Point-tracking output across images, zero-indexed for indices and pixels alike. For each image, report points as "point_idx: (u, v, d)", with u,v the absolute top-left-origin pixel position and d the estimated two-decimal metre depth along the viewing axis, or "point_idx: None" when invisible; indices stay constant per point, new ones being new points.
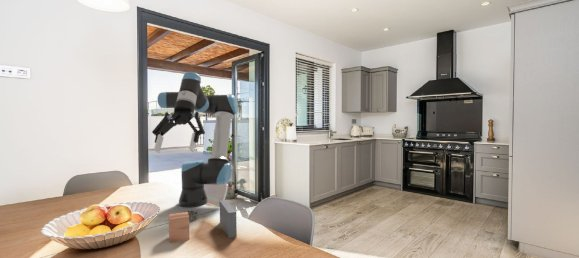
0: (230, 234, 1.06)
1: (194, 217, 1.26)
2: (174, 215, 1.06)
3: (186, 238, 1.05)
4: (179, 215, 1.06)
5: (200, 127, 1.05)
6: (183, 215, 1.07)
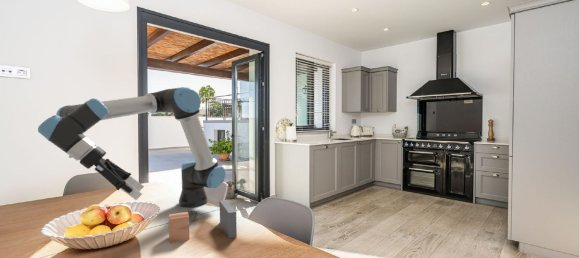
0: (230, 234, 1.06)
1: (194, 217, 1.26)
2: (174, 215, 1.06)
3: (186, 238, 1.05)
4: (179, 215, 1.06)
5: None
6: (183, 215, 1.07)
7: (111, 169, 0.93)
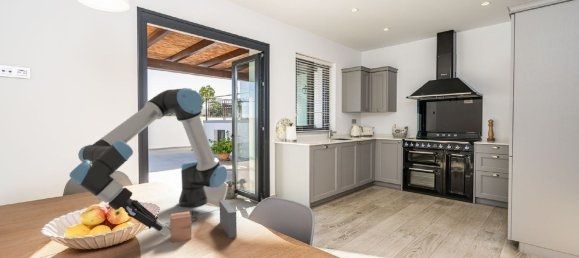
0: (230, 234, 1.06)
1: (195, 217, 1.26)
2: (176, 215, 1.07)
3: (188, 237, 1.05)
4: (181, 215, 1.06)
5: None
6: (185, 214, 1.07)
7: (140, 210, 0.98)
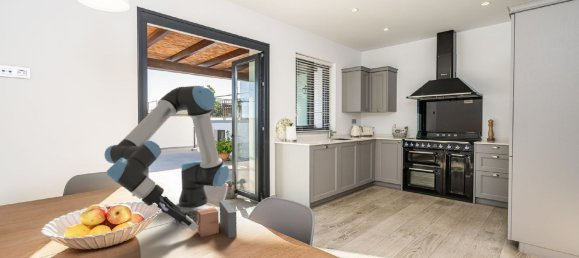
0: (230, 234, 1.06)
1: (195, 218, 1.26)
2: (203, 210, 1.11)
3: (216, 232, 1.10)
4: (208, 211, 1.11)
5: None
6: (211, 210, 1.12)
7: (171, 206, 1.03)
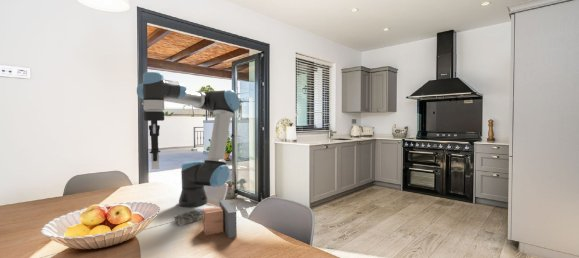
0: (230, 234, 1.06)
1: (195, 218, 1.25)
2: (208, 209, 1.13)
3: (220, 231, 1.11)
4: (213, 210, 1.12)
5: (151, 147, 1.07)
6: (217, 209, 1.13)
7: (157, 135, 1.10)
